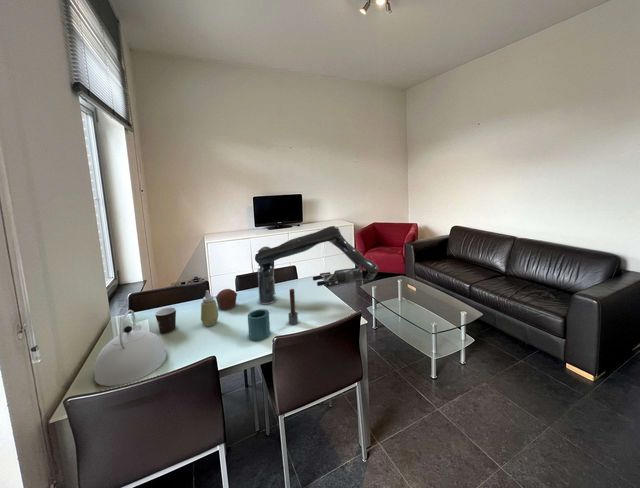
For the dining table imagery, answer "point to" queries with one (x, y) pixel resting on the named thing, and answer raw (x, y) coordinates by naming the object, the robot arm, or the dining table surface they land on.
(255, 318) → the jar
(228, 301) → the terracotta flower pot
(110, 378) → the kettle
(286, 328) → the dining table surface
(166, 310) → the coffee mug
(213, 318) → the squeeze bottle
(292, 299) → the dowel
